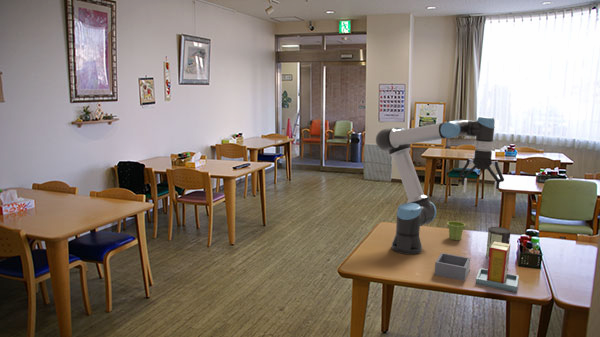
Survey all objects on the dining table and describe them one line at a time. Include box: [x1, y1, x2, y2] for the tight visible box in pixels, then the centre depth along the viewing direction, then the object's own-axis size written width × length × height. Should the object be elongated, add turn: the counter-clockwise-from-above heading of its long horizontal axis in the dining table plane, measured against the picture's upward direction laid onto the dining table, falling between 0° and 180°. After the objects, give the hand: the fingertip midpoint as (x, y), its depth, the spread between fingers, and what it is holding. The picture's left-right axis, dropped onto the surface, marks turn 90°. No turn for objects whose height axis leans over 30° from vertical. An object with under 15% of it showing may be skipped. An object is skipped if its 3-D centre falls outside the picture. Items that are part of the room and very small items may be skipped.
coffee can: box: [485, 226, 511, 259], centre depth 227 cm, size 10×10×14 cm
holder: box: [433, 252, 471, 282], centre depth 207 cm, size 13×14×6 cm
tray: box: [475, 267, 520, 293], centre depth 198 cm, size 16×13×2 cm
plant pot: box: [447, 220, 466, 241], centre depth 253 cm, size 9×9×9 cm
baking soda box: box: [487, 241, 511, 283], centre depth 196 cm, size 10×6×16 cm
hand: (479, 193), depth 220 cm, fingers open, 13 cm apart
